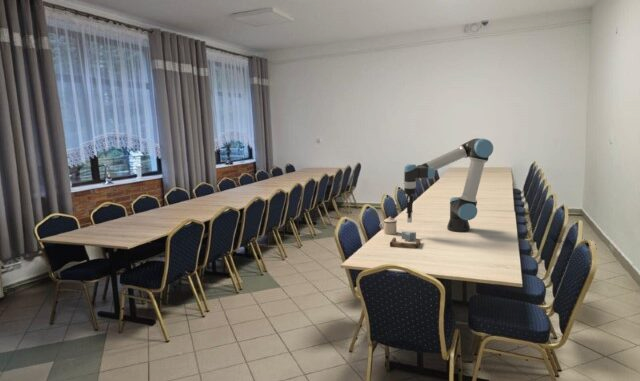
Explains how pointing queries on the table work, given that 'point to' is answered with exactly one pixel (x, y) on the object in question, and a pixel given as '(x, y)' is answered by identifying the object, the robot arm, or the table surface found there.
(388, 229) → the teacup with lid
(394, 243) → the walnut bay
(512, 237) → the table surface
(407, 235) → the slate t block
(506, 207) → the table surface
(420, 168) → the robot arm
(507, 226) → the table surface
